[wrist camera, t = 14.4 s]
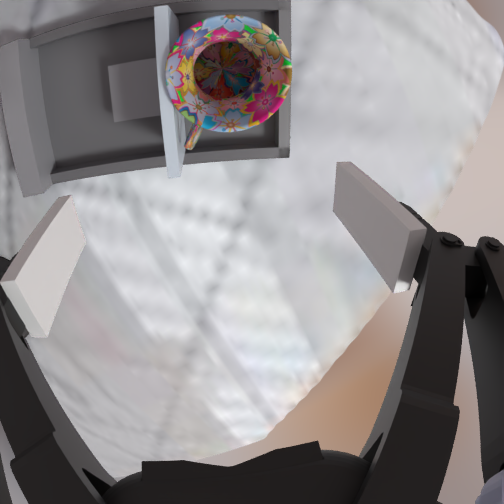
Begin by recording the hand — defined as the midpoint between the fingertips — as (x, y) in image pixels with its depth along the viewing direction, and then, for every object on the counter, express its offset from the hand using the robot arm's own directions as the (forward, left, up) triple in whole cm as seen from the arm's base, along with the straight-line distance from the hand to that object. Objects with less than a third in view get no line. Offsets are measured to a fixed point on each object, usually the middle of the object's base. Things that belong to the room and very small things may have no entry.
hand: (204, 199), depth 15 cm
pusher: (-6, +4, -21) cm, 22 cm away
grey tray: (-6, +4, -21) cm, 23 cm away
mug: (+1, +4, -21) cm, 22 cm away
